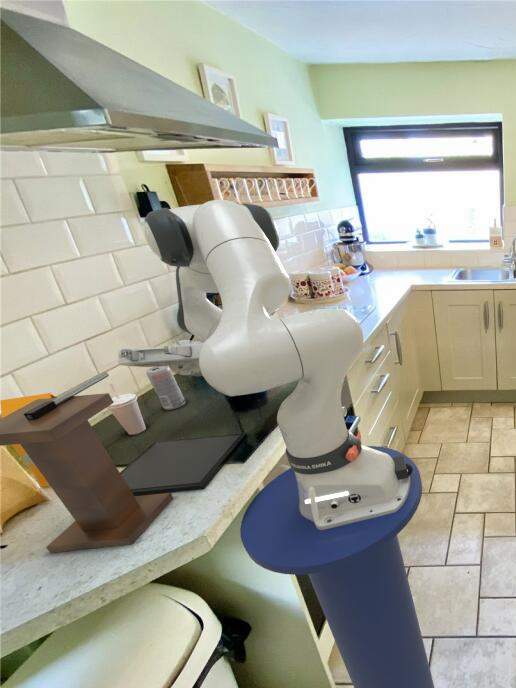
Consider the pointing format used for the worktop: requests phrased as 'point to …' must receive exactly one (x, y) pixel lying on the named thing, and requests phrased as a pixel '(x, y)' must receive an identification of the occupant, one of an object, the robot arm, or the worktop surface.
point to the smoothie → (127, 412)
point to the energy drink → (166, 387)
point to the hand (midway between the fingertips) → (144, 351)
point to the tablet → (180, 464)
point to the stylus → (61, 398)
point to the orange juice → (6, 409)
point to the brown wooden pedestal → (82, 474)
